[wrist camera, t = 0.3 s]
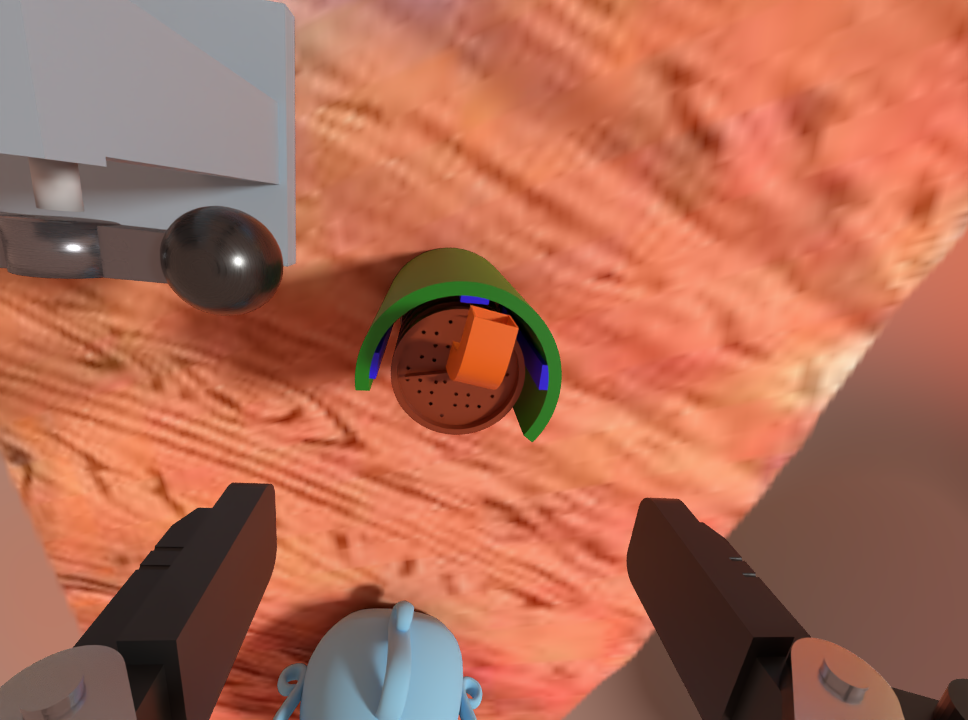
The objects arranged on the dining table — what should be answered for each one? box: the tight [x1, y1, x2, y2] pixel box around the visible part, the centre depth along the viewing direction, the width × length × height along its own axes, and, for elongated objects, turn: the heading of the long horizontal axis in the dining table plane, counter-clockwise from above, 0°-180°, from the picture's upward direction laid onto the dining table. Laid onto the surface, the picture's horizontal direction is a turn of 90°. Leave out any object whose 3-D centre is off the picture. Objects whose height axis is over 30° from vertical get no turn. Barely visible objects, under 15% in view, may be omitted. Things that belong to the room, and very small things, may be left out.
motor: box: [355, 248, 562, 442], centre depth 28 cm, size 10×9×20 cm
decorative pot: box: [273, 601, 482, 720], centre depth 41 cm, size 16×16×14 cm
